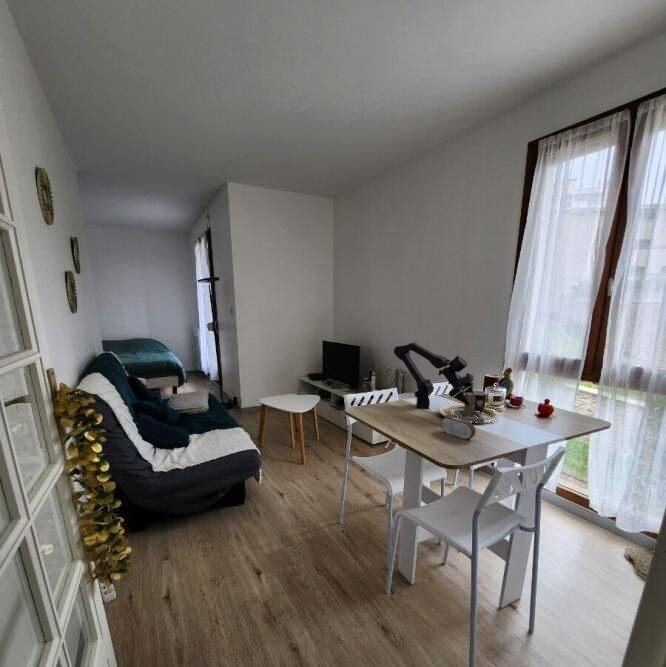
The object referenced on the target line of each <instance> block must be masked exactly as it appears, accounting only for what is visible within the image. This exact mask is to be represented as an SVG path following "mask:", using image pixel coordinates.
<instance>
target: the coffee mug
mask: <svg viewBox="0 0 666 667" xmlns="http://www.w3.org/2000/svg"><path fill="white" fill-rule="evenodd" d="M473 392H474V394H475V397H476V399H477V400H476V401H475V408H474V411H480V412H479V413H483V412H484V410H485V406H486V401H487V395H488V393H487V392H485V391H482V390H473ZM482 411H483V412H482Z"/></svg>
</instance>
